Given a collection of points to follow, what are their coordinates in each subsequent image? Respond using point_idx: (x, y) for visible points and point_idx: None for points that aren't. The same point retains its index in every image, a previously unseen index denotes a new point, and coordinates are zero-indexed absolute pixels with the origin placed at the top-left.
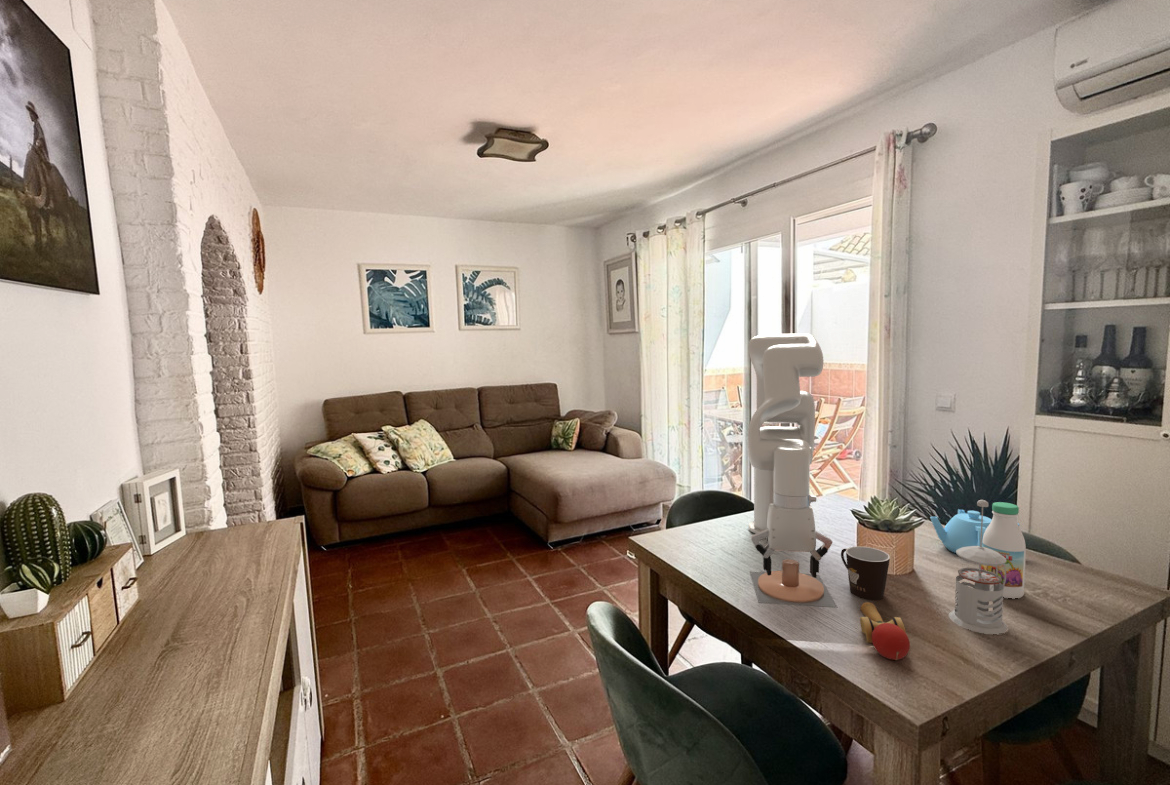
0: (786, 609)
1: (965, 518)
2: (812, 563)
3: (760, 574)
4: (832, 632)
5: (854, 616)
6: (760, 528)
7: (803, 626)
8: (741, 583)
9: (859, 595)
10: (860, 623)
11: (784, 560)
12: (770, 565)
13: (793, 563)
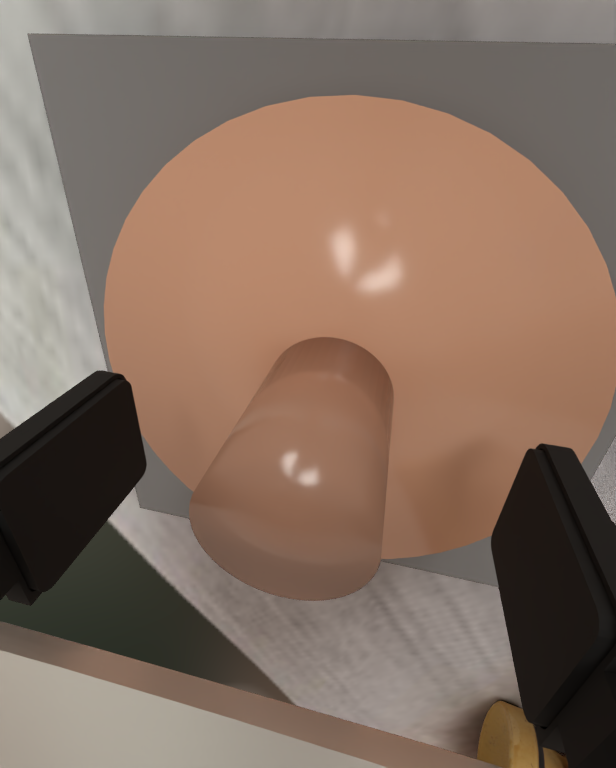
0: None
1: None
2: (527, 659)
3: (129, 116)
4: (402, 656)
5: None
6: None
7: (308, 615)
8: (33, 227)
9: None
10: (509, 745)
11: (219, 486)
12: (85, 536)
13: (308, 564)
